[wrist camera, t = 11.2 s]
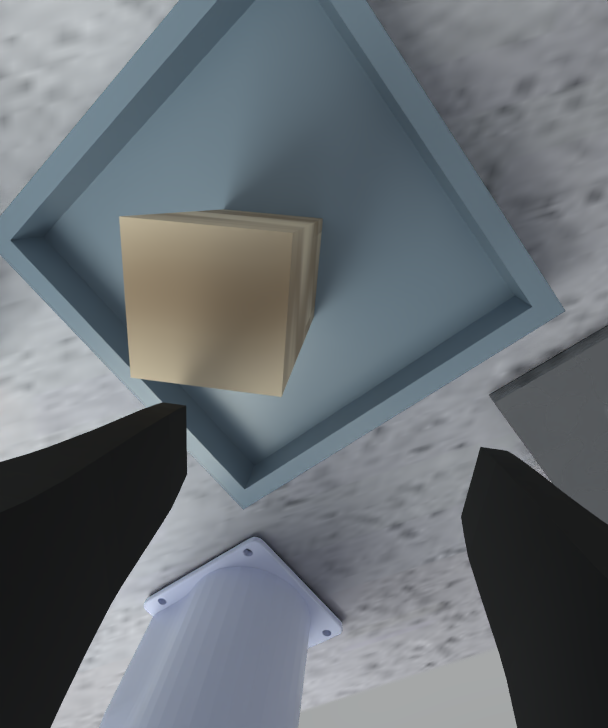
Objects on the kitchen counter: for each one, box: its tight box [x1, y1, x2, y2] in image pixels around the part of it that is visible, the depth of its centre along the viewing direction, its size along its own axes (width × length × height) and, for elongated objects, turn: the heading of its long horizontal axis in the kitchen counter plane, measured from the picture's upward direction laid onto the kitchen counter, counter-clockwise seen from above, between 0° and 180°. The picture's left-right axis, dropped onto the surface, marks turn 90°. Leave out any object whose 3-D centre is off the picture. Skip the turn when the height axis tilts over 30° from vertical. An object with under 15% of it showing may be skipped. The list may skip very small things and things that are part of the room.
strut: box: [119, 209, 323, 397], centre depth 14 cm, size 4×4×8 cm
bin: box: [0, 0, 565, 509], centre depth 17 cm, size 16×16×2 cm
